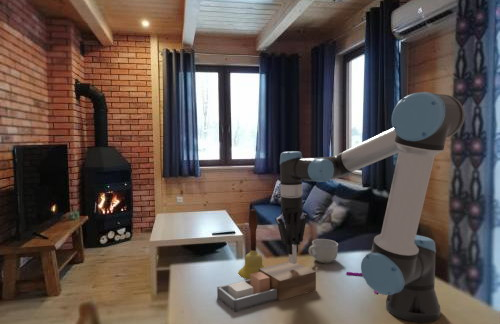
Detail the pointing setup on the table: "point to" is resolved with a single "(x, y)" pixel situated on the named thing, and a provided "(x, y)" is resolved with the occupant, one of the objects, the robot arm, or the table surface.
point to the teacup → (324, 250)
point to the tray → (245, 298)
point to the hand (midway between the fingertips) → (292, 262)
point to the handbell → (252, 250)
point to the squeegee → (357, 275)
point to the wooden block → (290, 279)
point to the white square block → (240, 290)
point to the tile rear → (259, 282)
